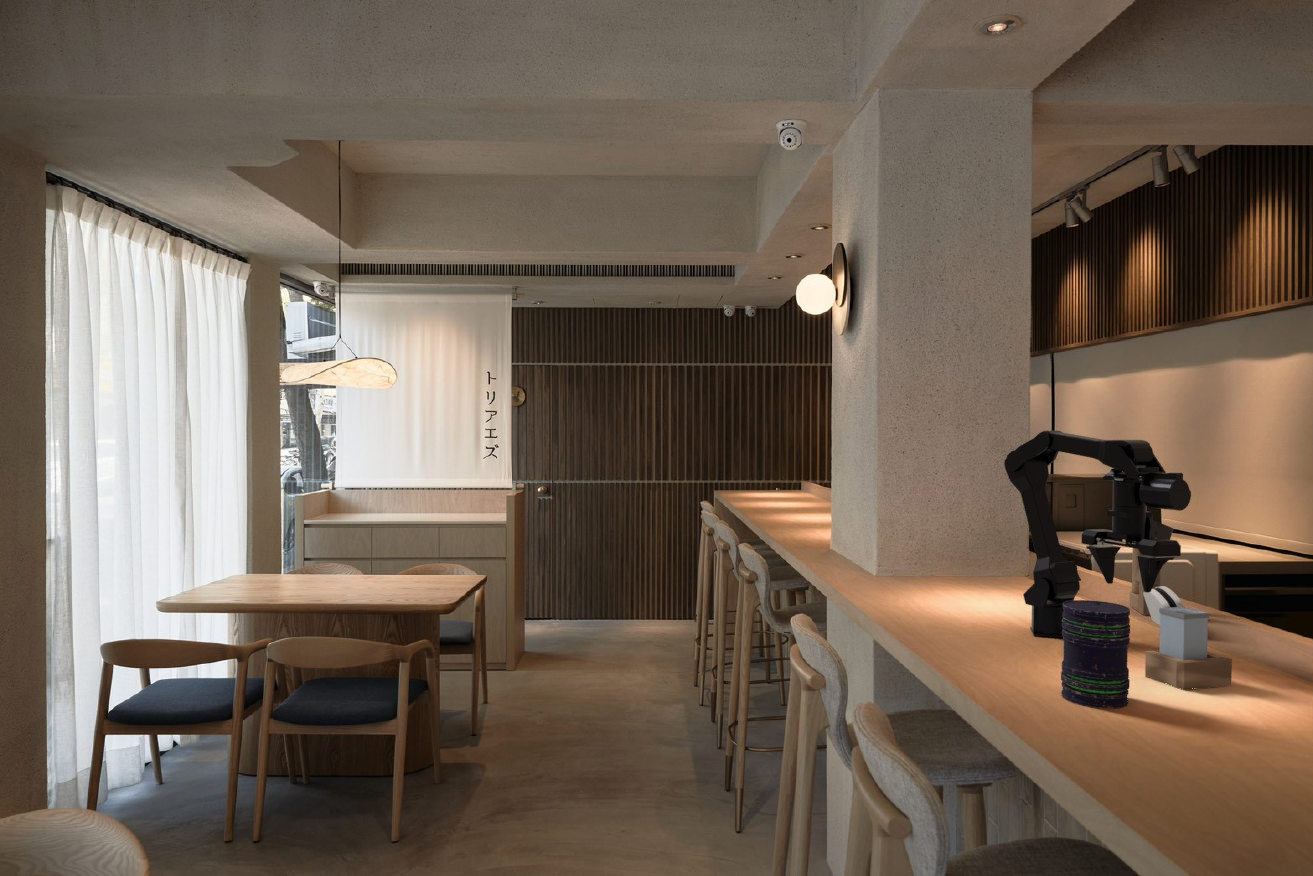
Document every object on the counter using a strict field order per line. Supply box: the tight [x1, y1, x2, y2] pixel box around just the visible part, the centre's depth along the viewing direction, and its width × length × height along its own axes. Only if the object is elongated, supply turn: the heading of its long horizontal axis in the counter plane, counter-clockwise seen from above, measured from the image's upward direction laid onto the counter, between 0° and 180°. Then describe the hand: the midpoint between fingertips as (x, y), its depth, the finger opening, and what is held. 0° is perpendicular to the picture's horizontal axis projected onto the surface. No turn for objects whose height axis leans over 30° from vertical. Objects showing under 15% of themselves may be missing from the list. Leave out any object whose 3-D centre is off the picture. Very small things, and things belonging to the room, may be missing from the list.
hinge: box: [1143, 585, 1185, 626], centre depth 191 cm, size 17×5×10 cm, turn 166°
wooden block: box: [1129, 543, 1161, 617], centre depth 208 cm, size 4×11×18 cm, turn 167°
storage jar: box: [1060, 599, 1131, 710], centre depth 142 cm, size 10×10×15 cm
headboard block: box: [1144, 650, 1233, 691], centre depth 152 cm, size 8×10×4 cm
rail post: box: [1159, 606, 1210, 660], centre depth 153 cm, size 5×5×12 cm
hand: (1128, 587), depth 168 cm, fingers open, 9 cm apart
